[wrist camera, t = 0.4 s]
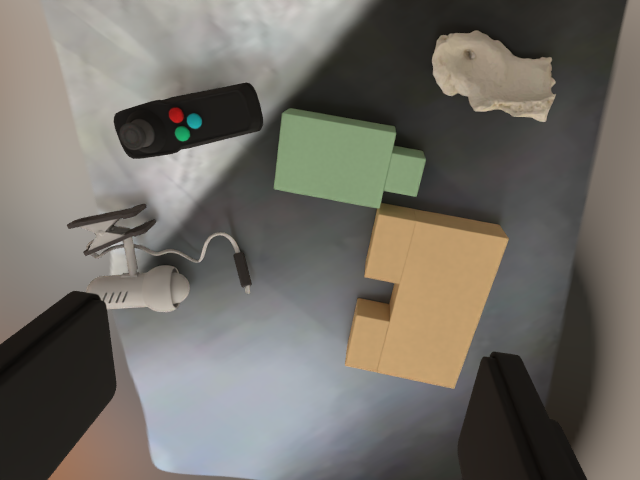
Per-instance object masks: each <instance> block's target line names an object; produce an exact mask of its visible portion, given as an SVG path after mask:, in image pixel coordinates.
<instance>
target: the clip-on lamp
mask: <svg viewBox="0 0 640 480" xmlns="http://www.w3.org/2000/svg"><path fill="white" fill-rule="evenodd" d="M145 208H146V204H141V205H137V206H134V207H133V208H130V209H125V210H120V211H115V212H110V213H105V214H100V215H95V216H90V217H86V218H81V219H78V220H75V221H73V222H71V223H69V224H68V225H67V226H68V228H69V229H71V228H75V227H81V228H84V229H87V230H89V231H92V232H94V233H95V235H96V238H95V240H92V241H91V242H89V243H88V245H87V246H86V248H87V250H85V251H84V254H85V256H87V255H89V254H90V255H91V256H93V257H94V258H97V259H99V258H100V257H102V256H103V255H104V254H106V253H107V252H109V251H111V250H114V249H117V248H122V247H124V248H125V253H126V259H127V265H128V271H129V273H123V274H122V275H112V276H100V277H97V278H95V279H94V280H92V281H91V282H90V284H89V285H88V287H87V291H86V292H87V293H93V294H97V295H99V296H100V298H101V301H104V302H105V303H106V307H107V309H117V308H134V307H149V308H150V309H152V310H154V311H158V312H170V311H173V310H175V309H177V308H178V307H179V304H180V302H181V301H183V300H184V299H185V298H186V297H187V295H188V293H189V290H190V286H189V282H188V280H187V279H186V277H185V276H183V275H181V274H179V272H178V270H177V268H176V267H173V266H169V265H162V266H157V267H155V268H153V269H151V270H150V271H149V272H147V273H139V272H137V269H138V267H137V261H136V255H135V250H134V248H138V249H141V250H143V251H145V252H147V253H149V254H151V255H155V256H159V255H162V254H165V253H169V252H173V253H177V254H179V255H181V256H183V257H185V258H187V259H188V260H190V261H192V262H195V263H197V262H201V261H202V259H203V258H204V255H205V252H206V248H207V245H208V243H209V241H210V239H212V238H213V237H214V236H217V235H222V236H225V237H227V238H228V239H229V240H230V241H231V243H232V245H233V247H234V249H235V252H236V254H234V260H235V263H236V267H237V271H238V275H239V279H240V283H241V286H242V287H245V293H247V294H250V286H251V285H252V283H251V279H250V275H249V271H248V267H247V263H246V260H245V256H244V253H243V252H240V250H239V247H238V245H237V243H236V242H235V240H234V239H233V238H232V237H231V236H230V235H228V234H226V233H222V232H220V233H215V234H212V235H211V236H210V237H208V239H207V240H206V242H205V244H204V246H203V250H202V254H201V257H200V259H199V260H195V259H193V258H191V257H189V256H187V255H185V254H184V253H182V252H179V251H177V250H174V249H167V250H164V251H161V252H154V251H152V250H150V249H148V248H146V247H144V246H141V245H136V244H133V238H132V236H134V237H135V236H138V235H141V234H143V233H145V232H147V231H148V230H149V229H150V228H151V227H152V226H153V225H154V224H155V223H156V221H155V219H153V220H151V221H148V222H145V223H144V224H142V225H140V226H138V227H135V228H133V229H130V228H124V227H118V226H114V224H115V223H116V222H117V221H118V220H119V219H120V218H123V219H126V218H130V217H134V216H136V215H137V214H138V213H140V212H141V211H142V210H144V209H145ZM120 241H123V243H124V244H121V245H116V246H113V247H110V248H108V249H107V250H105V251H103V252H102V253H101V254H100V255H98V254H96V253H95V252H97V251H99V250H101V249H103V248H106V247H108V246H111V245H113V244H115V243H118V242H120ZM91 244H92V245H91ZM90 245H91V246H90Z"/></svg>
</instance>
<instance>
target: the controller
mask: <svg viewBox="0 0 640 480" xmlns="http://www.w3.org/2000/svg"><path fill="white" fill-rule="evenodd" d="M114 125H115V129H116V132H117V135H118V137H119V140H120V143H121V145H122V147H123V149H124V151H125V152H126V154H127V155H128V156H129V157H131V158H133V159H140V158H148V157H155V156H161V155H168V154H173V153H177V152H178V151H180V150H181V149H187V148H192V147H196V146H200V145H204V144H208V143H212V142H216V141H220V140H224V139H228V138H232V137H236V136H240V135H244V134H248V133H252V132H257V131H260V130H261V128H262V126H263V117H262V112H261V107H260V103H259V100H258V97H257V93H256V91H255V89H254V87H253V86H252V85H251V84H250V83H242V84H237V85H232V86H227V87H222V88H217V89H212V90H207V91H201V92H196V93H191V94H186V95H181V96H176V97H171V98H168V99H165V100H156V101H151V102H148V103H145V104H142V105H138V106H135V107H132V108H129V109H125V110H122V111H120V112H118V113H116V114H115V116H114Z"/></svg>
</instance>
